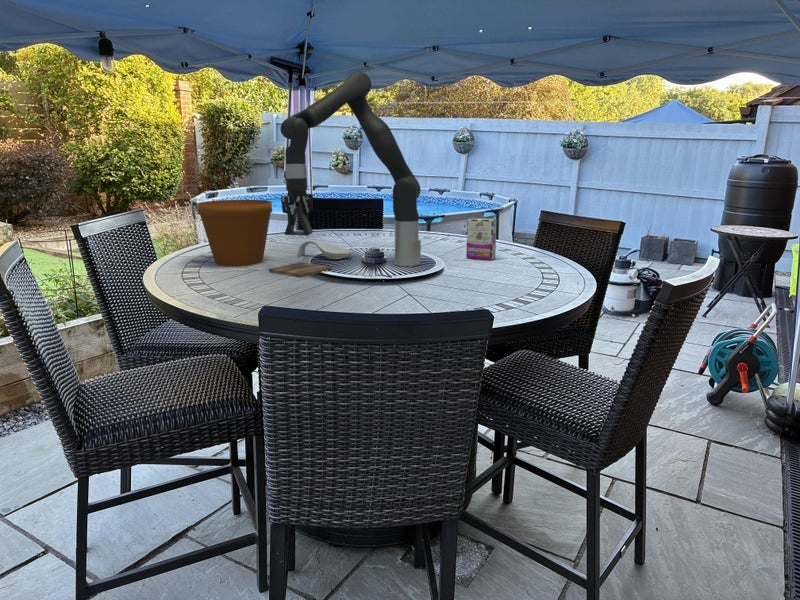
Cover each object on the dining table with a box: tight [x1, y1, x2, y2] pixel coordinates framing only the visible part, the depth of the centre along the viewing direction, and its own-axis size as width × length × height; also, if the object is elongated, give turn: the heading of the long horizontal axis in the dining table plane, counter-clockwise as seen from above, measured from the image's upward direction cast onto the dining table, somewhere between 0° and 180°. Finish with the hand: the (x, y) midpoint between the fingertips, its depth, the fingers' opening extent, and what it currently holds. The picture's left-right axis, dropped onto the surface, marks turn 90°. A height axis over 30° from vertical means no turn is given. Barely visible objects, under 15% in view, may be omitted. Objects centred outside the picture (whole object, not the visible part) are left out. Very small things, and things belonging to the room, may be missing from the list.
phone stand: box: [284, 201, 314, 236], centre depth 208 cm, size 9×6×12 cm, turn 85°
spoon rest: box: [297, 239, 352, 259], centre depth 239 cm, size 24×12×7 cm, turn 67°
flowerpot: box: [196, 199, 273, 267], centre depth 227 cm, size 28×28×24 cm
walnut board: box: [268, 261, 332, 278], centre depth 213 cm, size 16×16×1 cm
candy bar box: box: [466, 218, 497, 262], centre depth 235 cm, size 11×5×16 cm, turn 62°
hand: (298, 223), depth 209 cm, fingers closed on phone stand, 6 cm apart
